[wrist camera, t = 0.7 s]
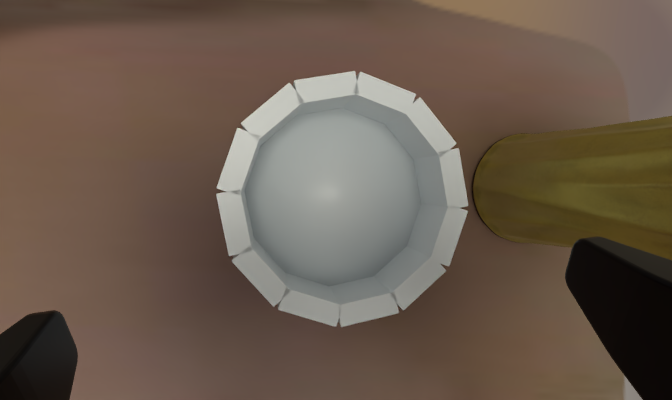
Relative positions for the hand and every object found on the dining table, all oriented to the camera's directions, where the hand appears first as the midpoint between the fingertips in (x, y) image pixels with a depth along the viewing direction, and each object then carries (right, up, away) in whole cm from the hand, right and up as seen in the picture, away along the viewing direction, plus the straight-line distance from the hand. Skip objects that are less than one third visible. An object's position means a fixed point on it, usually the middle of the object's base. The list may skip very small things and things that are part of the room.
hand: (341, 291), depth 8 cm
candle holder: (0, +2, +16) cm, 16 cm away
